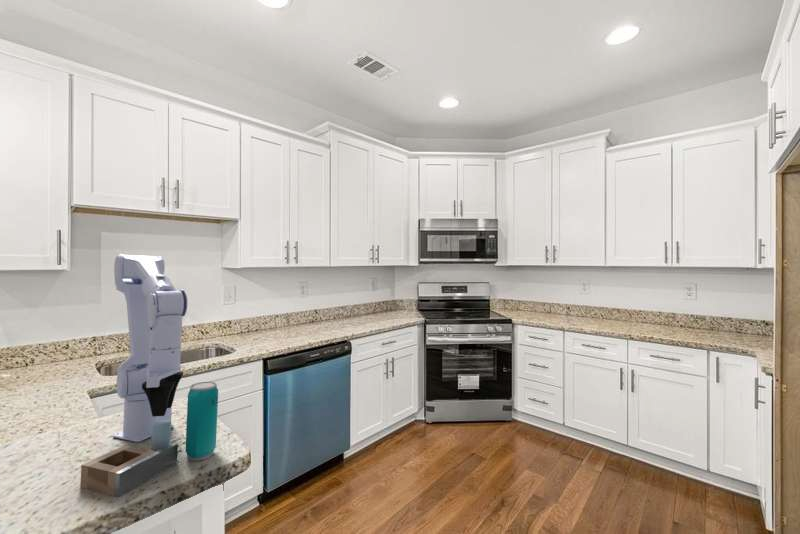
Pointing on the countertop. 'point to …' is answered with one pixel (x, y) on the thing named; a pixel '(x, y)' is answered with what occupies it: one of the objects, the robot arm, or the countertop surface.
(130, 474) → the wall
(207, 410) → the beverage can
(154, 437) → the dowel
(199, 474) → the countertop surface
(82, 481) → the block
